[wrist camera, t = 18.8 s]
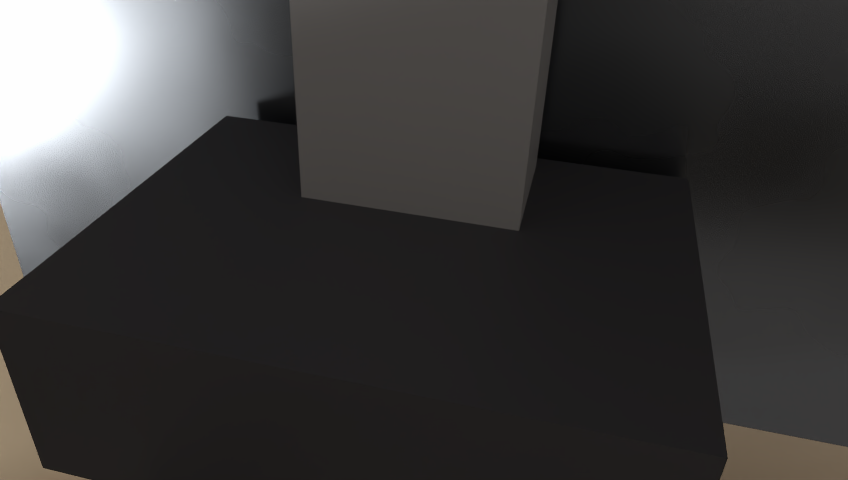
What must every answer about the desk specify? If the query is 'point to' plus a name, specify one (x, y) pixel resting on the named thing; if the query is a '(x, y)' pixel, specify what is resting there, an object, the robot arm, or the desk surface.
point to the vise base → (559, 140)
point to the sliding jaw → (379, 284)
